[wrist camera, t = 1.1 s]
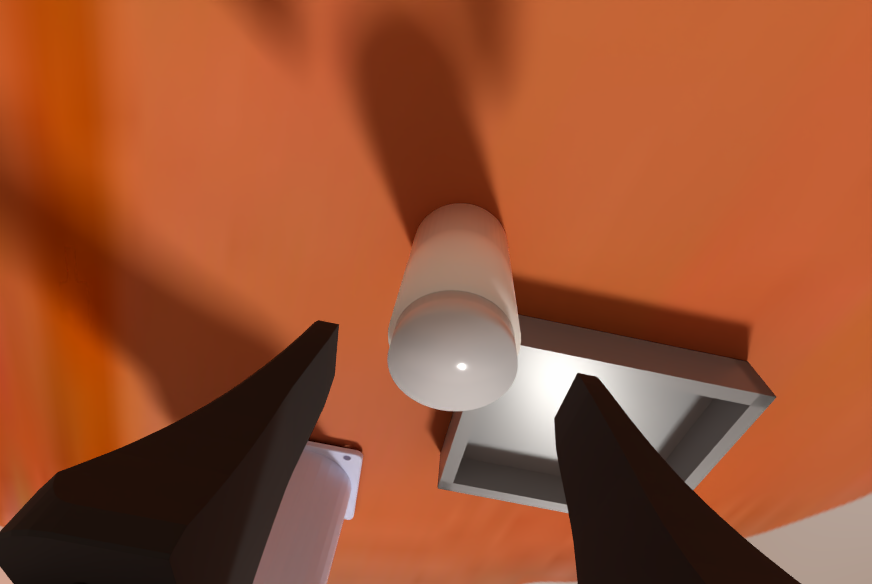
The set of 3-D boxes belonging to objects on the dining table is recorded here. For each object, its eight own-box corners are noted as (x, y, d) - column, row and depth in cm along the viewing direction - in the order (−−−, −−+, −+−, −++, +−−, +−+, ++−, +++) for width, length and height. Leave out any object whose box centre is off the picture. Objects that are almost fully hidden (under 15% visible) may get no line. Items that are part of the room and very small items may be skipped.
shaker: (407, 277, 21) (373, 401, 14) (422, 193, 19) (390, 292, 12) (493, 295, 21) (502, 426, 14) (519, 214, 19) (544, 323, 12)
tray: (440, 453, 28) (437, 488, 26) (485, 307, 22) (486, 338, 19) (643, 492, 28) (657, 530, 26) (747, 361, 22) (776, 397, 20)
